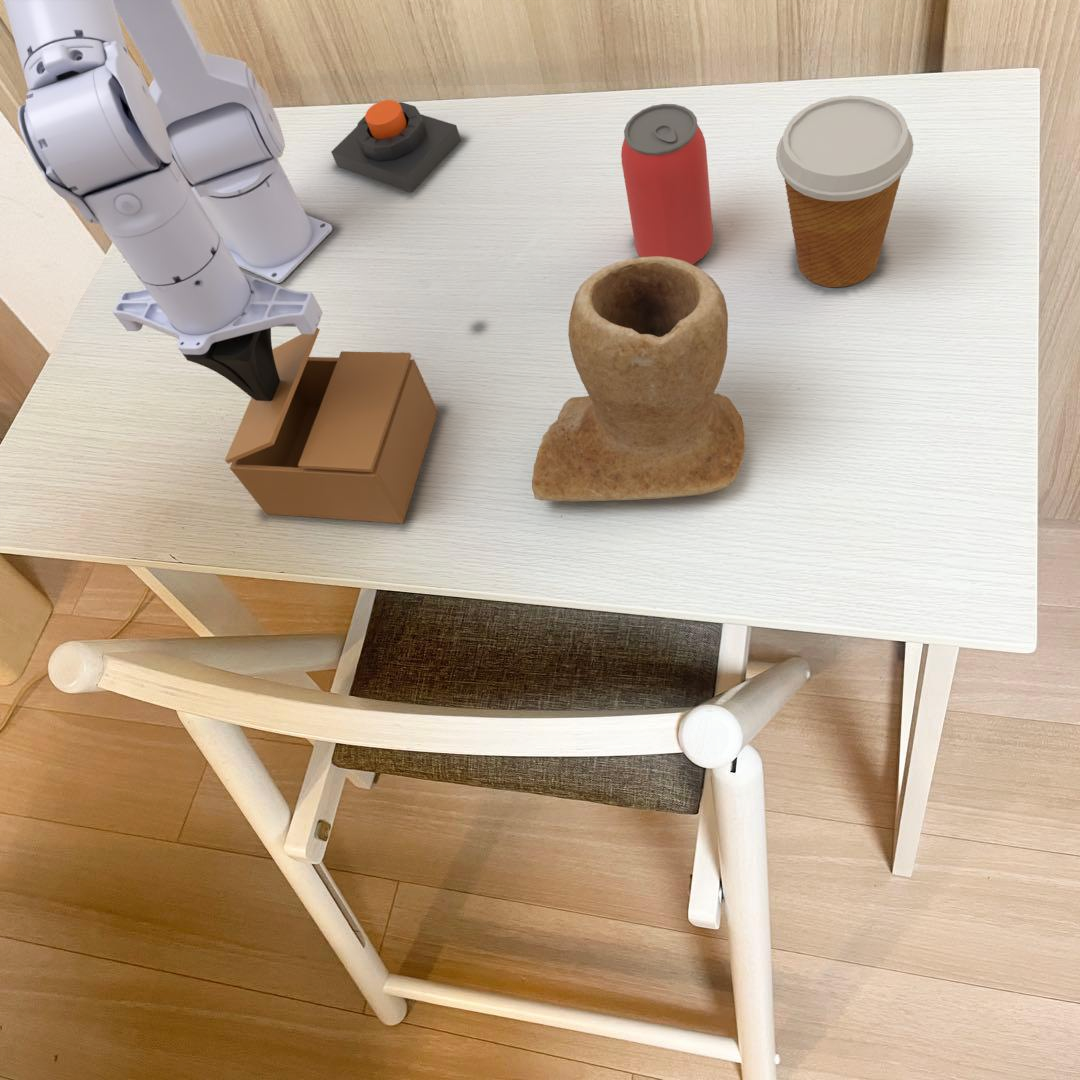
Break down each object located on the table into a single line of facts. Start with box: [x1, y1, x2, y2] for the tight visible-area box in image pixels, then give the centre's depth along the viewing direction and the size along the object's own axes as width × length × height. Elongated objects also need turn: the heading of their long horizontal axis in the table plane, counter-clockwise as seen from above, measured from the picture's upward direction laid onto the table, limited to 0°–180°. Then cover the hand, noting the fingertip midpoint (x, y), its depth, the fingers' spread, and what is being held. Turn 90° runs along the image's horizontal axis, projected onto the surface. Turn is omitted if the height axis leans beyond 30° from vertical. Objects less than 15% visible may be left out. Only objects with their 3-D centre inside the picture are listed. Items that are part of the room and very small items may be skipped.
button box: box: [330, 101, 462, 194], centre depth 101 cm, size 10×8×4 cm
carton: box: [229, 350, 439, 525], centre depth 80 cm, size 12×11×7 cm
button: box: [364, 99, 407, 139], centre depth 99 cm, size 4×4×2 cm
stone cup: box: [531, 256, 746, 502], centre depth 71 cm, size 15×12×15 cm
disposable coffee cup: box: [775, 95, 914, 288], centre depth 78 cm, size 10×10×12 cm
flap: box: [224, 327, 320, 464], centre depth 76 cm, size 6×11×1 cm, turn 168°
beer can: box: [620, 103, 714, 265], centre depth 83 cm, size 7×7×12 cm
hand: (268, 390), depth 76 cm, fingers closed
